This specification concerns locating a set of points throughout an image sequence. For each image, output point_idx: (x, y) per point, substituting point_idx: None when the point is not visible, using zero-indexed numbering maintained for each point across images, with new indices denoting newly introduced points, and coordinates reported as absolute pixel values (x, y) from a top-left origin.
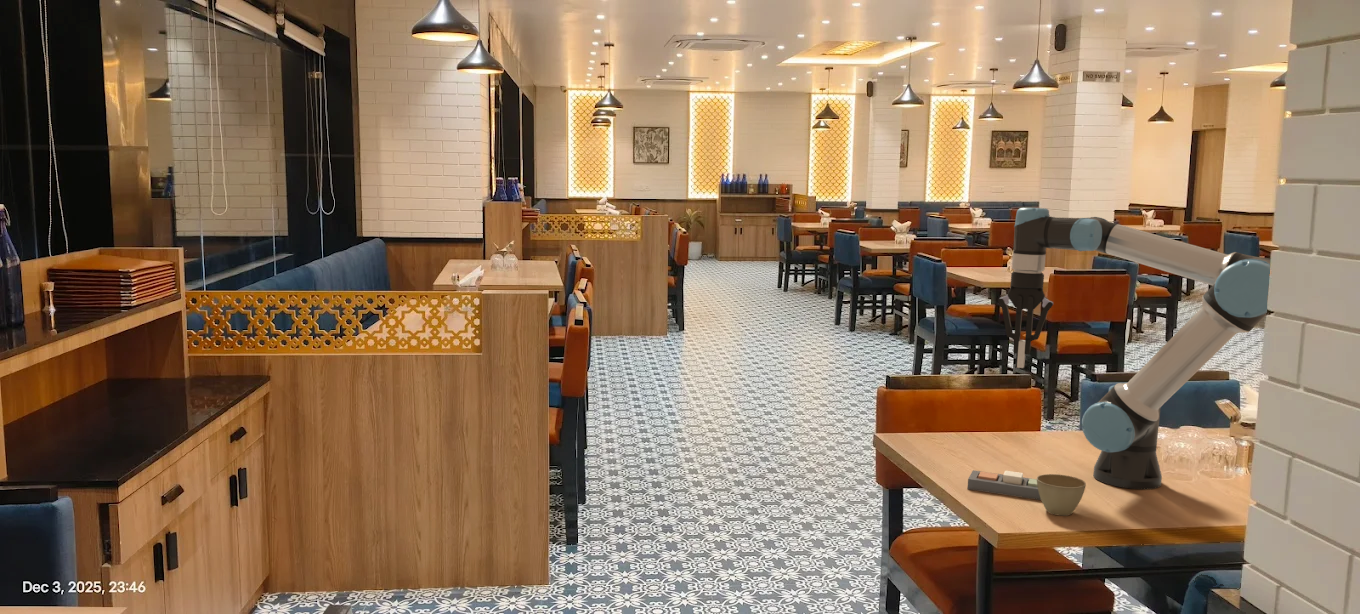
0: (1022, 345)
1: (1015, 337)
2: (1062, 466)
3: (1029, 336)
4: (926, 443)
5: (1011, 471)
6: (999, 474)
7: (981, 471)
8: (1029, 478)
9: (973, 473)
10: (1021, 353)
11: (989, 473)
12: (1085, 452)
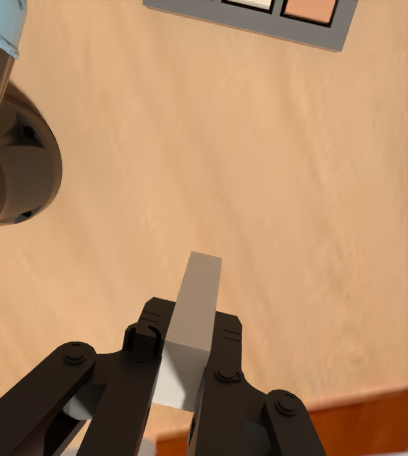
0: (186, 325)
1: (235, 380)
2: (118, 226)
3: (124, 370)
4: (380, 322)
5: (253, 1)
6: (277, 31)
7: (320, 45)
8: (206, 17)
9: (347, 16)
10: (196, 294)
11: (308, 9)
12: (69, 330)
